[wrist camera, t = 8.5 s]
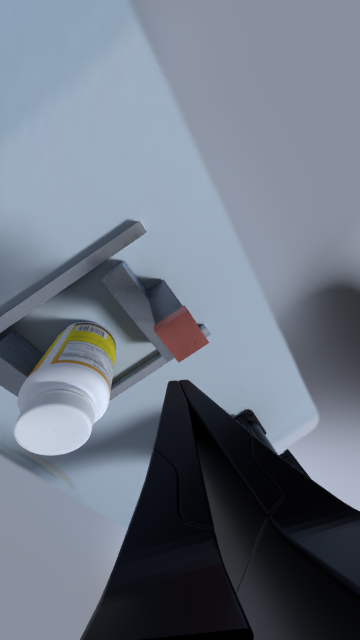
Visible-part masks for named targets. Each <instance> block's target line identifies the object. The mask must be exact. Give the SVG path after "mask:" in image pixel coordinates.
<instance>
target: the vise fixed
mask: <svg viewBox="0 0 360 640" xmlns="http://www.w3.org/2000/svg"><path fill="white" fill-rule="evenodd" d="M145 233H146V230H145V229H144V227H143V226H142V224H141V222H140V221H139V222H137V223H136V224H134V225H133V226H131V227H130V228H128V229H127V230H126V231H124V232H123V233H121V234H120V235H118V236H117V237H115V238H114V239H112V240H111V241H110V242H108V243H107V244H105V245H104V246H102V247H101V248H99V249H98V250H97V251H95V252H94V253H92V254H91V255H89V256H88V257H86V258H85V259H84V260H82V261H81V262H79V263H78V264H76V265H75V266H73V267H72V268H70V269H69V270H68V271H66V272H65V273H63V274H62V275H60V276H59V277H57V278H56V279H55V280H53V281H52V282H50V283H49V284H47V285H46V286H44V287H43V288H42V289H40V290H39V291H37V292H36V293H34V294H33V295H31V296H30V297H29V298H27V299H26V300H24V301H23V302H21V303H20V304H18V305H17V306H15V307H14V308H13V309H11V310H10V311H8V312H7V313H5V314H4V315H2V316H1V317H0V333H1V332H2V331H4V330H5V329H7V328H8V327H10V326H11V325H12V324H14V323H15V322H17V321H18V320H20V319H21V318H23V317H24V316H26V315H27V314H28V313H30V312H31V311H33V310H34V309H36V308H37V307H39V306H40V305H42V304H43V303H44V302H46V301H47V300H49V299H50V298H52V297H53V296H55V295H56V294H58V293H59V292H60V291H62V290H63V289H65V288H66V287H68V286H69V285H71V284H72V283H74V282H75V281H76V280H78V279H79V278H81V277H82V276H84V275H85V274H87V273H88V272H90V271H91V270H92V269H94V268H95V267H97V266H98V265H100V264H101V263H103V262H104V261H106V260H107V259H108V258H110V257H111V256H113V255H114V254H116V253H117V252H119V251H120V250H122V249H123V248H124V247H126V246H127V245H129V244H130V243H132V242H133V241H135V240H136V239H138V238H139V237H140V236H142V235H143V234H145ZM199 328H200V330H201V331H202V333H203V334H204V336H205V337H207V336H209V335H210V333H209V331H208V329H207V328H206V327H205V325H204V324H203V325H201V326H199ZM43 356H44V355H43V354H42V353H41V352H40V351H38V350H37V349H36V348H35V347H34V346H32V345H31V344H30V343H29V342H28V341H26V340H25V339H24V338H23V337H22V336H20V335H19V334H18V333H17V332H16V331H12V332H11V333H9V334H8V335H7V336H5V337H4V338H2V339H1V340H0V385H1V386H2V387H4V388H5V389H7V390H8V391H10V392H11V393H13V394H14V395H16V396H17V397H18V395H19V391H20V389H21V387H22V385H23V383H24V382H25V380H26V379H27V378H28V376H29V375H30V373H31V372H32V371H33V369H34V368H35V367H36V365H37V364H38V363H39V361H40V360H41V358H42V357H43ZM174 358H175V357H174ZM174 358H172V359H174ZM172 359H170V360H169V361H171V360H172ZM169 361H166V360H165V358H164V357H163V356H162V355H161V354H160V353H159V354H157V355H156V356H154V357H153V358H151V359H150V360H148V361H147V362H145V363H144V364H142V365H141V366H139V367H138V368H136V369H135V370H133V371H132V372H130V373H129V374H127V375H126V376H124V377H123V378H121V379H119V380H118V381H116V382H115V383H113V384H112V385H111V392H110V399H109V401H110V400H112V399H113V398H115V397H116V396H118V395H119V394H121V393H122V392H124V391H125V390H127V389H128V388H130V387H131V386H133V385H134V384H136V383H137V382H139V381H140V380H142V379H143V378H145V377H146V376H148V375H149V374H151V373H152V372H154V371H155V370H157V369H159V368H160V367H162V366H163V365H165V364H166V363H168V362H169Z"/></svg>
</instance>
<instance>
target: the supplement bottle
mask: <svg viewBox="0 0 360 640" xmlns="http://www.w3.org/2000/svg"><path fill="white" fill-rule="evenodd" d="M115 353H116V343H115V340H114V337H113V336H112V334H111V333H110V332H109V331H108V330H107V329H106V328H105V327H103V326H101V325H99V324H97V323H93V322H78V323H74V324H72V325H70V326H68V327H66V328H65V329H64V330H63V331H62V332H61V333H60V334H59V335H58V337H57V338H56V339H55V341H54V342H53V344H52V345H51V346H50V348H49V349H48V350H47V352H46V353H45V354H44V356H43V357H42V358H41V360H40V361H39V363H38V364H37V365H36V367H35V368H34V369H33V371H32V372H31V373H30V375H29V376H28V378H27V379H26V380H25V382H24V383H23V385H22V387H21V389H20V391H19V395H18V406H19V409H20V412H21V414H20V416H19V417H18V419H17V421H16V423H15V426H14V436H15V439H16V441H17V442H18V443H19V444H20V445H21V446H22V447H23V448H24V449H26V450H28V451H30V452H33V453H36V454H40V455H51V456H52V455H61V454H65V453H69V452H72V451H74V450H76V449H78V448H79V447H81V446H82V445H83V444H84V443H85V442H86V441H87V440H88V438H89V436H90V434H91V431H92V427H93V424H94V423H95V422H96V421H98V420H99V419H100V418H101V417H102V415H103V414H104V413H105V411H106V409H107V407H108V404H109V399H110V392H111V384H112V377H113V369H114V361H115Z"/></svg>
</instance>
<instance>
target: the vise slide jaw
mask: <svg viewBox="0 0 360 640" xmlns="http://www.w3.org/2000/svg"><path fill="white" fill-rule="evenodd" d="M101 282H102V283H103V284H104V286H105V287H106V288H107V289H108V291H109V292H110V293H111V294H112V295H113V297H114V298H115V299H116V300H117V301H118V303H119V304H120V305H121V306H122V308H123V309H124V310H125V311H126V312H127V314H128V315H129V316H130V317H131V318H132V320H133V321H134V322H135V323H136V324H137V326H138V327H139V328H140V329H141V331H142V332H143V333H144V334H145V335H146V337H147V338H148V339H149V340H150V341H151V343H152V344H153V345H154V346H155V348H156V349H157V350H158V351H159V352H160V354H161V355H162V356H163V357H164V358H165V360H166V361H169V360H170V359H172V358H174V357H175V358H176V360H177V361H178V362H180V361H182V360H184V359H185V358H187V357H188V356H190V355H191V354H193V353H194V352H196V351H197V350H199V349H200V348H202V347H203V346H205V345H206V344H208V343H209V342H208V340H207V339H206V337H205V336H204V334H203V333H202V331H201V330H200V328H199V326H198V325H197V323H196V322H195V320H194V319H193V317H192V316H191V314H190V313H189V311H188V310H187V308H186V307H185V306H182V304H181V303H180V302H179V300H178V299H177V298H176V296H175V295H174V293H173V292H172V291H171V289H170V288H169V287H168V285H167V284H166V282H165V281H164V280H162V281H161V282H159V283H158V284H156V285H155V286H153V287H152V288H150V289H149V290H147V291H146V290H145V289H144V287H143V286H142V284H141V283H140V282H139V280H138V279H137V277H136V276H135V275H134V273H133V272H132V271H131V269H130V268H129V266H128V265H127V264H126V262H125V261H123V262H122V263H120V264H119V265H117V266H116V267H114V268H113V269H111V270H110V271H109V272H107V273H106V274H105V275H104V277H103V278H102V280H101Z"/></svg>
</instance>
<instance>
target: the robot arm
mask: <svg viewBox="0 0 360 640" xmlns="http://www.w3.org/2000/svg"><path fill="white" fill-rule="evenodd" d="M265 435H266V431H265V430H264V428H263V427H262V425H261V424H260V422H259V421H258V419H257V418H256V416H255V414H254V413H253V411H252V410H249V411H247V412H246V413H244V414H243V415H241V416H239V417H238V418H236V419H234V418H233V417H232V416H230V415H229V414H228V413H227V412H226V411H225V410H223V409H222V408H221V407H220V406H219V405H217V404H216V403H215V402H214V401H213V400H212V399H210V398H209V397H208V396H207V395H206V394H204V393H203V392H202V391H201V390H200V389H198V388H197V387H196V386H195V385H194V384H193V383H191V382H190V381H189V380H179V382H178V381H169V382H168V386H167V390H166V394H165V399H164V403H163V407H162V412H161V416H160V421H159V425H158V429H157V434H156V438H155V443H154V447H153V451H152V455H151V460H150V464H149V467H148V471H147V475H146V479H145V482H144V485H143V488H142V491H141V494H140V497H139V500H138V502H137V505H136V508H135V511H134V513H133V516H132V519H131V522H130V524H129V527H128V530H127V533H126V535H125V538H124V541H123V544H122V546H121V549H120V552H119V554H118V557H117V560H116V563H115V565H114V568H113V570H112V573H111V575H110V578H109V580H108V582H107V585H106V587H105V589H104V592H103V594H102V597H101V599H100V601H99V603H98V605H97V607H96V609H95V611H94V613H93V615H92V617H91V619H90V621H89V623H88V625H87V627H86V629H85V631H84V633H83V635H82V637H81V639H80V640H360V511H358V510H356V509H354V508H352V507H351V506H349V505H347V504H346V503H344V502H342V501H341V500H340V499H338V498H337V497H335V496H334V495H332V494H331V493H330V492H328V491H327V490H326V489H324V488H323V487H321V486H320V485H318V484H317V483H316V482H314V481H313V480H312V479H311V478H310V477H309V476H308V474H307V473H306V472H305V471H304V469H303V468H302V467H301V466H300V464H299V463H298V461H297V460H296V459H295V458H294V456H293V455H292V454H291V453H290V451H289V450H288V449H287V450H285V451H284V453H282V454H280V455H278V454H277V452H276V451H275V449H274V448H273V446H272V445H271V443H270V442H269V440H268V439H267V437H266V436H265Z"/></svg>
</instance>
